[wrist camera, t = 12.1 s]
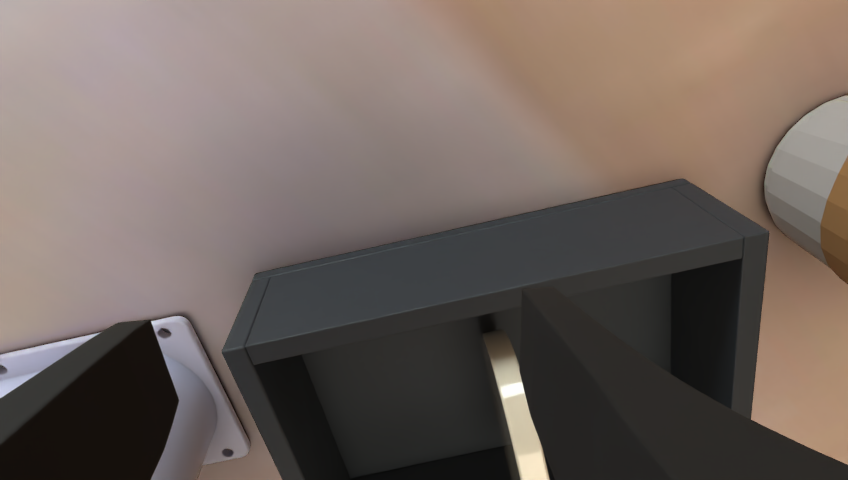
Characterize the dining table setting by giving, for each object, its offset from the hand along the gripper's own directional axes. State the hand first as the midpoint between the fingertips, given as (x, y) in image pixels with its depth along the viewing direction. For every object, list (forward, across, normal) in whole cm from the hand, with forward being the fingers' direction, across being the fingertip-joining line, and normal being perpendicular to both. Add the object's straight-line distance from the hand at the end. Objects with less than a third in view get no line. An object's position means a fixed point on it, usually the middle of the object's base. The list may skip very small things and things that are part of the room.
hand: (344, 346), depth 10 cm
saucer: (+10, -5, +9) cm, 14 cm away
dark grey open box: (+10, -5, +9) cm, 14 cm away
